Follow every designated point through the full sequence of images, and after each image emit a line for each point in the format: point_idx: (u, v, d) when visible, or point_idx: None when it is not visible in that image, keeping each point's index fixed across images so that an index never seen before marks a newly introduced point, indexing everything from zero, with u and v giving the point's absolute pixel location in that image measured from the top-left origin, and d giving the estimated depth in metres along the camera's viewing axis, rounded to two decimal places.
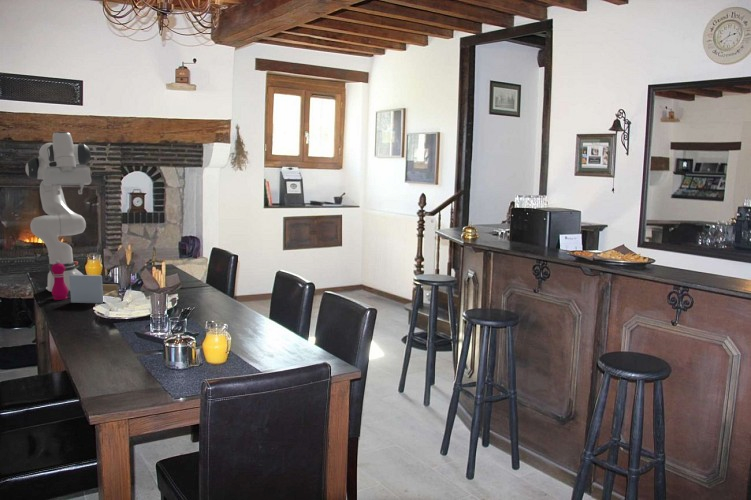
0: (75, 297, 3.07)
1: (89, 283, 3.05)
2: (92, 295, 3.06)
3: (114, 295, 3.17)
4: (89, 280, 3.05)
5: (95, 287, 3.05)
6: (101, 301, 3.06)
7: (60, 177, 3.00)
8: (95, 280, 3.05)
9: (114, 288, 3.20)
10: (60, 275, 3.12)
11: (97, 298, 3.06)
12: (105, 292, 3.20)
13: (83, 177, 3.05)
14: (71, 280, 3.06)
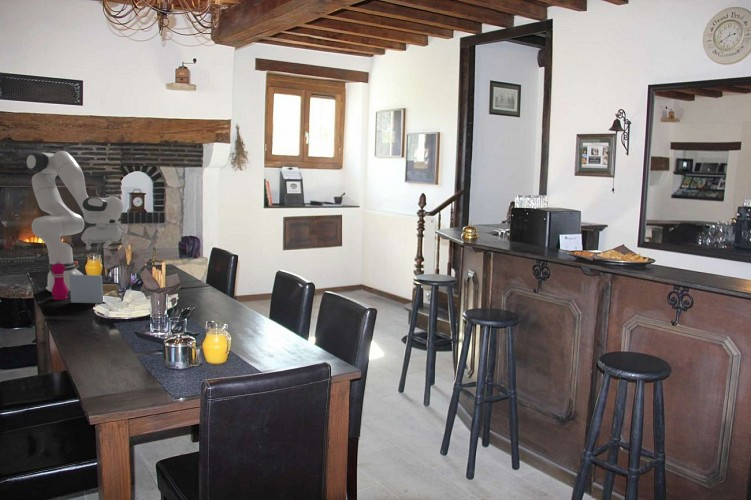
0: (75, 297, 3.07)
1: (89, 283, 3.05)
2: (92, 295, 3.06)
3: (114, 295, 3.17)
4: (89, 280, 3.05)
5: (95, 287, 3.05)
6: (101, 301, 3.06)
7: None
8: (95, 280, 3.05)
9: (114, 288, 3.20)
10: (60, 275, 3.12)
11: (97, 298, 3.06)
12: (105, 292, 3.20)
13: None
14: (71, 280, 3.06)
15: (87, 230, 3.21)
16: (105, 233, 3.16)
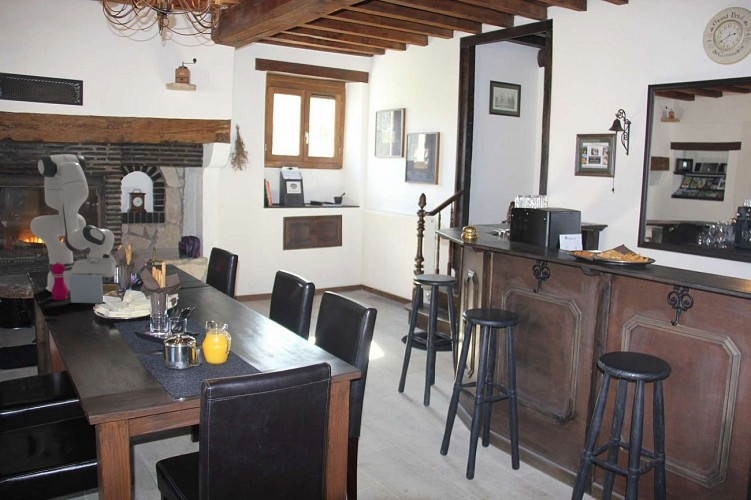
0: (75, 297, 3.07)
1: (89, 283, 3.05)
2: (92, 295, 3.06)
3: (114, 295, 3.17)
4: (89, 280, 3.05)
5: (95, 287, 3.05)
6: (101, 301, 3.06)
7: None
8: (95, 280, 3.04)
9: (114, 288, 3.20)
10: (60, 275, 3.12)
11: (97, 298, 3.06)
12: (105, 292, 3.20)
13: None
14: (71, 280, 3.06)
15: (77, 263, 3.12)
16: (98, 268, 3.10)
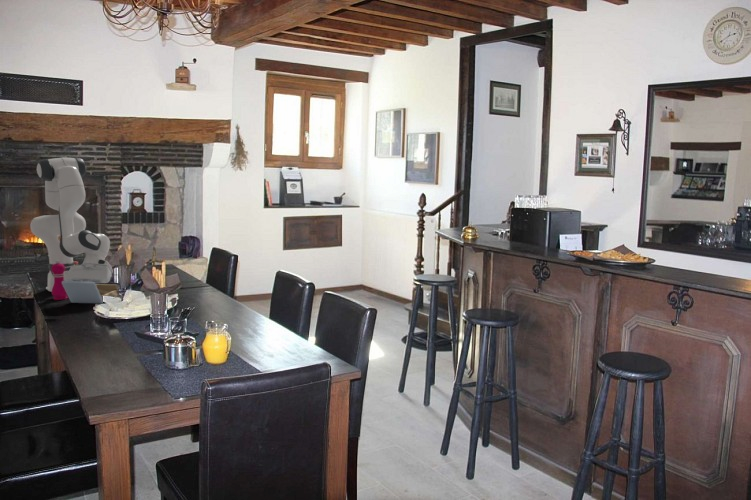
0: (74, 299, 3.06)
1: (84, 288, 3.01)
2: (90, 298, 3.04)
3: (114, 295, 3.17)
4: (83, 286, 3.00)
5: (91, 292, 3.02)
6: (101, 302, 3.06)
7: None
8: (89, 286, 3.00)
9: (114, 288, 3.20)
10: (60, 275, 3.12)
11: (96, 300, 3.05)
12: (105, 292, 3.20)
13: None
14: (65, 286, 3.01)
15: (72, 269, 3.08)
16: (93, 274, 3.06)
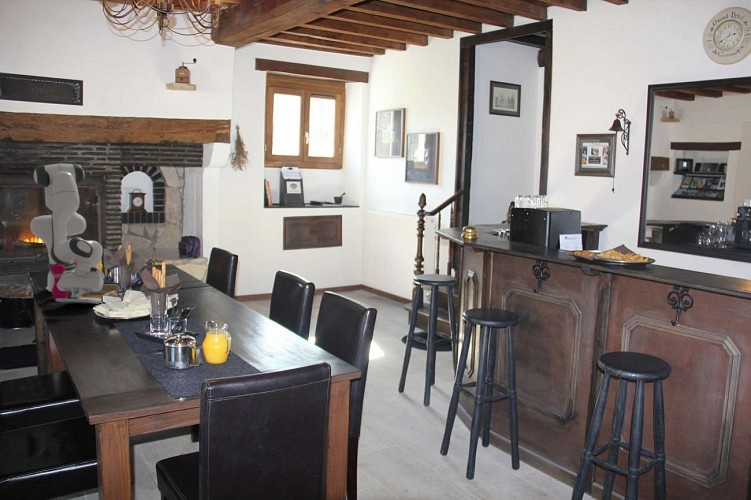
0: None
1: None
2: (89, 303, 3.03)
3: (114, 295, 3.17)
4: None
5: (88, 302, 3.00)
6: None
7: None
8: None
9: (114, 288, 3.20)
10: (60, 275, 3.12)
11: (95, 303, 3.05)
12: (105, 292, 3.20)
13: None
14: (60, 301, 2.98)
15: (64, 277, 3.01)
16: (85, 282, 2.99)
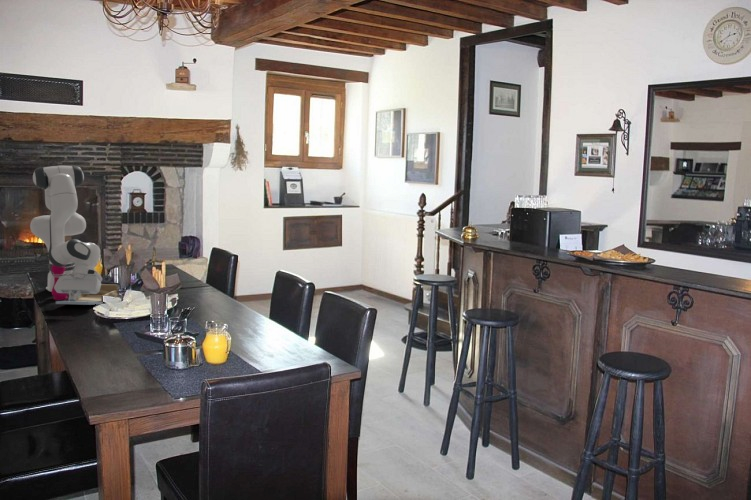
0: None
1: None
2: None
3: (114, 295, 3.17)
4: None
5: None
6: None
7: None
8: None
9: (114, 288, 3.20)
10: (60, 275, 3.12)
11: None
12: (105, 292, 3.20)
13: None
14: None
15: (61, 279, 3.00)
16: (83, 284, 2.97)
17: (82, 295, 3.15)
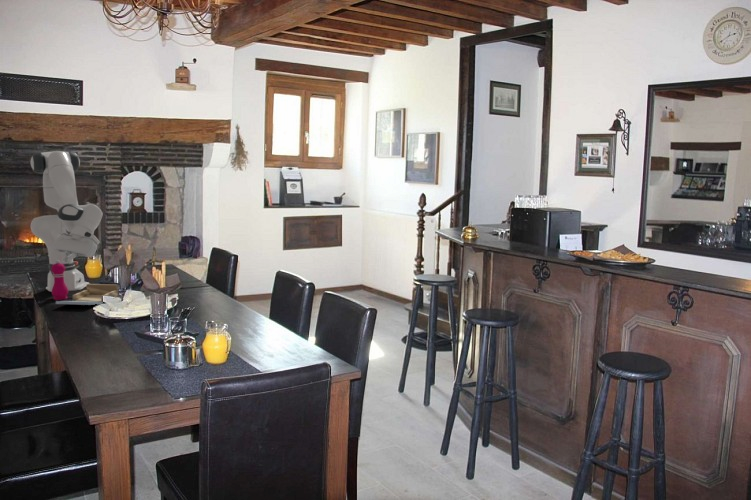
0: None
1: None
2: None
3: (114, 295, 3.17)
4: None
5: None
6: None
7: None
8: None
9: (114, 288, 3.20)
10: (60, 275, 3.12)
11: None
12: (105, 292, 3.20)
13: None
14: None
15: (60, 238, 2.98)
16: (78, 246, 2.94)
17: (82, 295, 3.15)
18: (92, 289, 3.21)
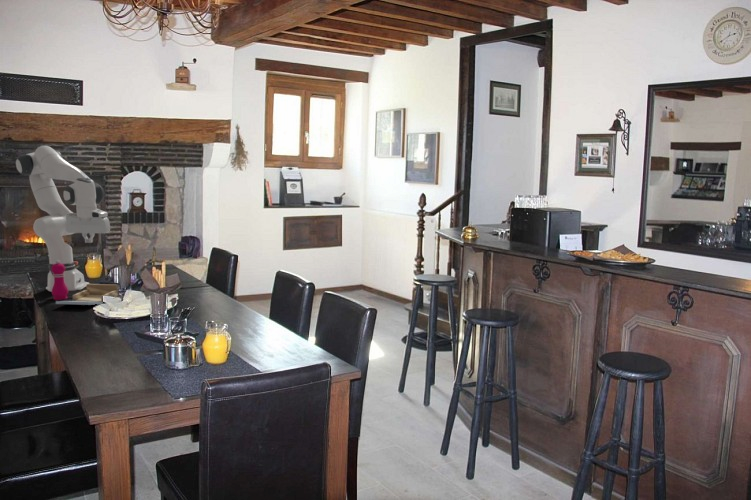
0: None
1: None
2: None
3: (114, 295, 3.17)
4: None
5: None
6: None
7: None
8: None
9: (114, 288, 3.20)
10: (60, 275, 3.12)
11: None
12: (105, 292, 3.20)
13: None
14: None
15: (69, 221, 3.05)
16: (92, 227, 3.05)
17: (82, 295, 3.15)
18: (92, 289, 3.21)
